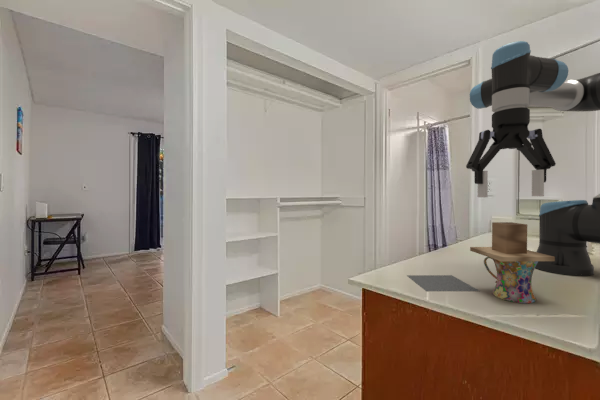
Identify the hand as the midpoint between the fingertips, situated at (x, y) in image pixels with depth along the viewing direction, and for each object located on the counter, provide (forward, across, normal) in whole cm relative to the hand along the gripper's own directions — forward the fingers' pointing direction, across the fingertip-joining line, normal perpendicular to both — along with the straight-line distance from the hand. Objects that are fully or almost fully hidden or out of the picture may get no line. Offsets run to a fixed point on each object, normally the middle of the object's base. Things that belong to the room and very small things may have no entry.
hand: (510, 196), depth 70 cm
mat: (+25, +13, -10) cm, 30 cm away
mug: (+25, +1, 0) cm, 25 cm away
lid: (+14, 0, 0) cm, 15 cm away
